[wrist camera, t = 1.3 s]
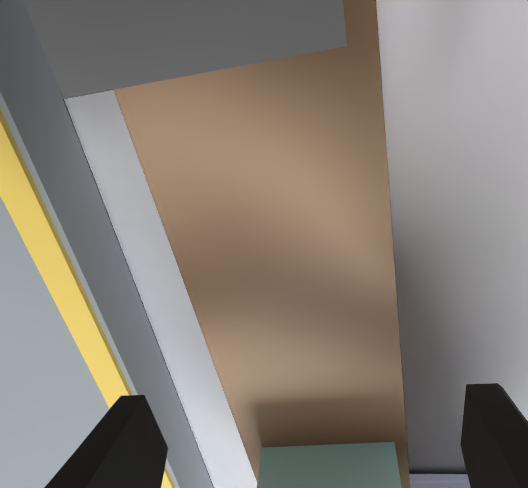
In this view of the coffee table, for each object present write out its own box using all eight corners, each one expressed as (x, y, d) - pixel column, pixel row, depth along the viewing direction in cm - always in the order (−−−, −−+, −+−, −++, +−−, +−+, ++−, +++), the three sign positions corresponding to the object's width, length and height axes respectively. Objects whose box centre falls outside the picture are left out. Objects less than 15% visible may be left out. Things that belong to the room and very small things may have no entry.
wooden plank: (399, 455, 22) (414, 546, 18) (285, 459, 23) (280, 546, 20) (327, -375, 9) (334, -585, 5) (67, -277, 10) (-67, -401, 6)
